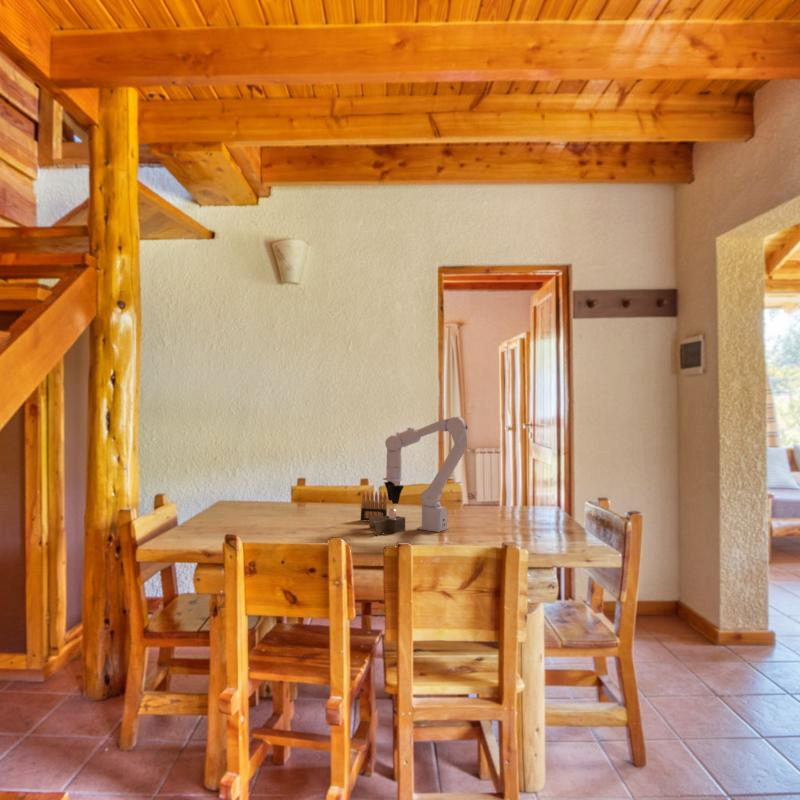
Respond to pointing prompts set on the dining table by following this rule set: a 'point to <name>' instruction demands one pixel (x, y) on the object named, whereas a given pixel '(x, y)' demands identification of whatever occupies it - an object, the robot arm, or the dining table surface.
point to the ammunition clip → (373, 505)
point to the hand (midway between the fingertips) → (393, 501)
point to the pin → (392, 513)
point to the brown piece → (386, 524)
